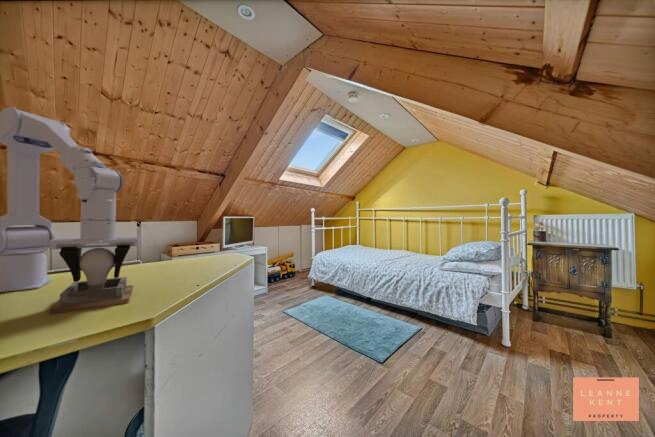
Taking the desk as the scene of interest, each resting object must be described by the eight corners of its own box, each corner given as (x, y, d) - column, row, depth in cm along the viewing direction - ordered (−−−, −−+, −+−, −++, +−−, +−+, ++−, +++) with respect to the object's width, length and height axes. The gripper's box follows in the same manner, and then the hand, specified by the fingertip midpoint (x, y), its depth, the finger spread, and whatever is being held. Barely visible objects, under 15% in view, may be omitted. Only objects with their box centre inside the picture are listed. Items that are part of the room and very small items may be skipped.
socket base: (66, 296, 55) (66, 282, 55) (132, 288, 62) (133, 275, 62) (49, 314, 46) (49, 296, 46) (128, 302, 53) (129, 287, 53)
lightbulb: (92, 301, 50) (95, 250, 50) (68, 298, 51) (71, 248, 51) (120, 292, 56) (123, 247, 56) (99, 289, 57) (102, 245, 57)
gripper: (43, 220, 46) (42, 288, 46) (138, 221, 54) (136, 278, 55) (56, 218, 52) (55, 279, 52) (140, 219, 60) (138, 271, 60)
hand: (97, 278), depth 54 cm, fingers closed on lightbulb, 6 cm apart
